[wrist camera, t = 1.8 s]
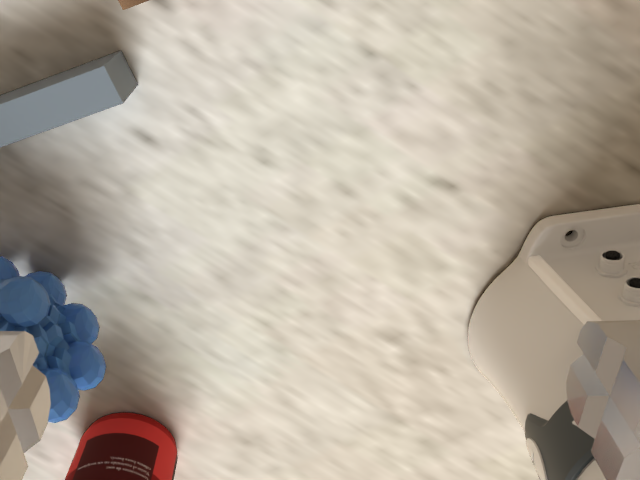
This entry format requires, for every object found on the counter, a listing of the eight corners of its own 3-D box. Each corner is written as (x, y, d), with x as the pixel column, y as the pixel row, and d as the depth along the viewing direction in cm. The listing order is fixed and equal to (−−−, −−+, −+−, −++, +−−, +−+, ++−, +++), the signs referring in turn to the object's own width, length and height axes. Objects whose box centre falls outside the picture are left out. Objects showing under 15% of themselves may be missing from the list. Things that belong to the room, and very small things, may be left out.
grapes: (153, 264, 40) (106, 395, 29) (116, 335, 42) (61, 477, 32) (-27, 187, 36) (-153, 304, 26) (-54, 269, 39) (-177, 404, 29)
